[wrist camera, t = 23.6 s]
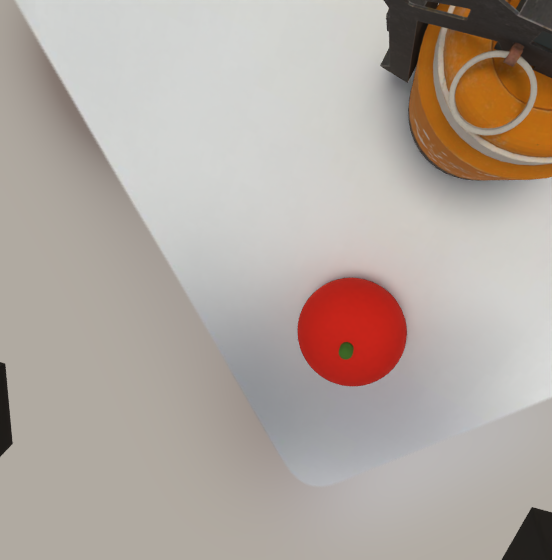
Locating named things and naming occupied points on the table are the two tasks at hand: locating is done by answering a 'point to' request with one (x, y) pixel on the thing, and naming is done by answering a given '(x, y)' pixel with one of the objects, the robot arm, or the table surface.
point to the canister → (477, 83)
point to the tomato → (352, 332)
